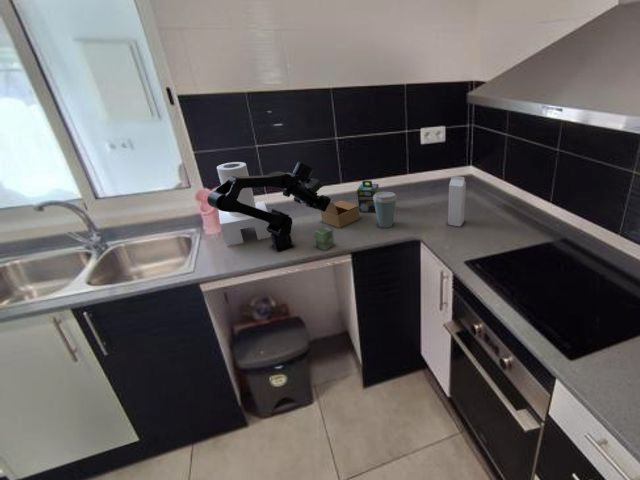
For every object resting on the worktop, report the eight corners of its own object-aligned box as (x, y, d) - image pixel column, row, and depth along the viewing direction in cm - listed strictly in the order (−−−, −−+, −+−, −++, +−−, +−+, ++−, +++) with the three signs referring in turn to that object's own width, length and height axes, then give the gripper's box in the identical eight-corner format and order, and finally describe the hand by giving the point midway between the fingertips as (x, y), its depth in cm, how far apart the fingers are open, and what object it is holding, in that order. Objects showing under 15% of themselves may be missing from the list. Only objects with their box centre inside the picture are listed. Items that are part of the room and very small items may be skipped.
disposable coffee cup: (372, 221, 176) (370, 190, 169) (395, 218, 179) (394, 188, 172) (376, 231, 167) (374, 198, 160) (400, 228, 170) (399, 196, 163)
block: (325, 250, 152) (322, 234, 149) (316, 246, 155) (314, 231, 152) (334, 245, 156) (332, 230, 152) (326, 242, 158) (324, 227, 155)
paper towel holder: (224, 229, 171) (205, 163, 156) (267, 220, 178) (253, 157, 164) (226, 246, 156) (206, 175, 142) (273, 236, 164) (259, 168, 149)
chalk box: (380, 205, 194) (378, 177, 187) (376, 212, 186) (374, 183, 179) (362, 205, 195) (360, 177, 188) (358, 211, 187) (355, 182, 180)
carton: (339, 227, 171) (338, 214, 168) (322, 221, 177) (320, 208, 174) (359, 218, 180) (358, 205, 176) (342, 212, 186) (341, 200, 183)
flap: (338, 214, 168) (337, 214, 167) (320, 208, 174) (320, 208, 174) (333, 202, 164) (333, 203, 163) (316, 197, 170) (315, 197, 170)
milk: (460, 226, 171) (463, 179, 160) (447, 224, 172) (449, 178, 162) (464, 221, 176) (466, 175, 165) (451, 219, 177) (453, 173, 167)
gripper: (324, 178, 151) (347, 196, 164) (294, 170, 161) (318, 188, 174) (311, 203, 149) (335, 219, 162) (282, 193, 159) (307, 209, 172)
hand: (324, 208), depth 168 cm, fingers closed
